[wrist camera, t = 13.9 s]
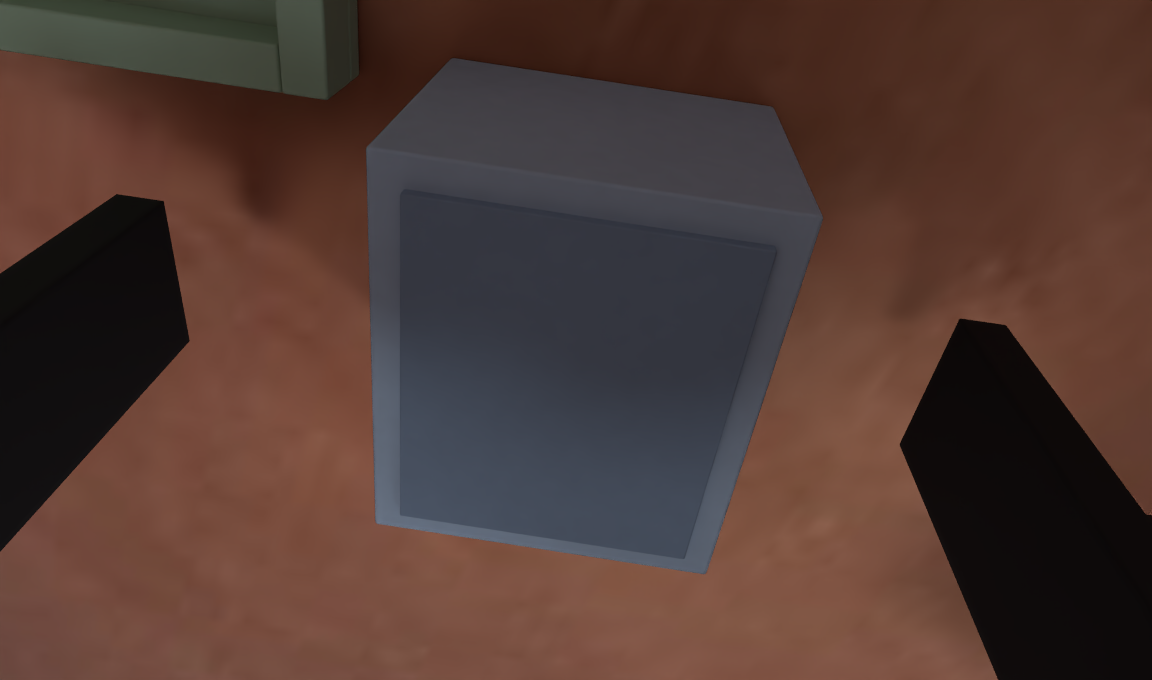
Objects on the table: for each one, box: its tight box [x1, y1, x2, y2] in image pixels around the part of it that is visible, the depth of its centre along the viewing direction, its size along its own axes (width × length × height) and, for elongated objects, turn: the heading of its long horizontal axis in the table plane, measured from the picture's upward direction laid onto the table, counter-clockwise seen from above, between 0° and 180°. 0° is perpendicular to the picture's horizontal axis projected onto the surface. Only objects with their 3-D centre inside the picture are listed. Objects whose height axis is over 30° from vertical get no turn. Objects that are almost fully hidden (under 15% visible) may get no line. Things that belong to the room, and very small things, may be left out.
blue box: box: [366, 58, 823, 574], centre depth 14 cm, size 6×7×5 cm
